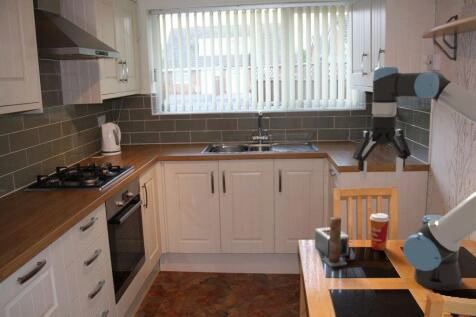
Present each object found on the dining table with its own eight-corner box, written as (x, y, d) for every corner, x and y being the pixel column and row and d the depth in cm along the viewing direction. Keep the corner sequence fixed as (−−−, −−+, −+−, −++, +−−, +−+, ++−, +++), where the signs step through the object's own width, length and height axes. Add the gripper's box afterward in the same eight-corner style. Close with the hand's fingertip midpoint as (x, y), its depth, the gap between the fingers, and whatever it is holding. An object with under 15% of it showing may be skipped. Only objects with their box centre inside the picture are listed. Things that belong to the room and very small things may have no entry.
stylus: (336, 258, 172) (338, 216, 169) (341, 262, 168) (343, 219, 165) (327, 259, 171) (328, 217, 168) (331, 263, 167) (333, 220, 164)
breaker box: (315, 246, 185) (315, 228, 184) (334, 244, 188) (334, 226, 186) (327, 257, 174) (328, 238, 172) (348, 255, 176) (348, 236, 175)
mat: (338, 257, 174) (338, 256, 174) (346, 264, 167) (346, 263, 167) (321, 259, 172) (322, 258, 172) (330, 267, 166) (330, 265, 165)
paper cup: (365, 245, 185) (366, 213, 183) (380, 243, 188) (382, 211, 185) (376, 252, 178) (377, 219, 175) (392, 250, 180) (393, 217, 178)
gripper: (409, 112, 150) (406, 173, 154) (343, 116, 144) (341, 179, 148) (424, 114, 143) (420, 178, 147) (355, 118, 136) (353, 184, 140)
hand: (381, 178), depth 147 cm, fingers open, 13 cm apart
